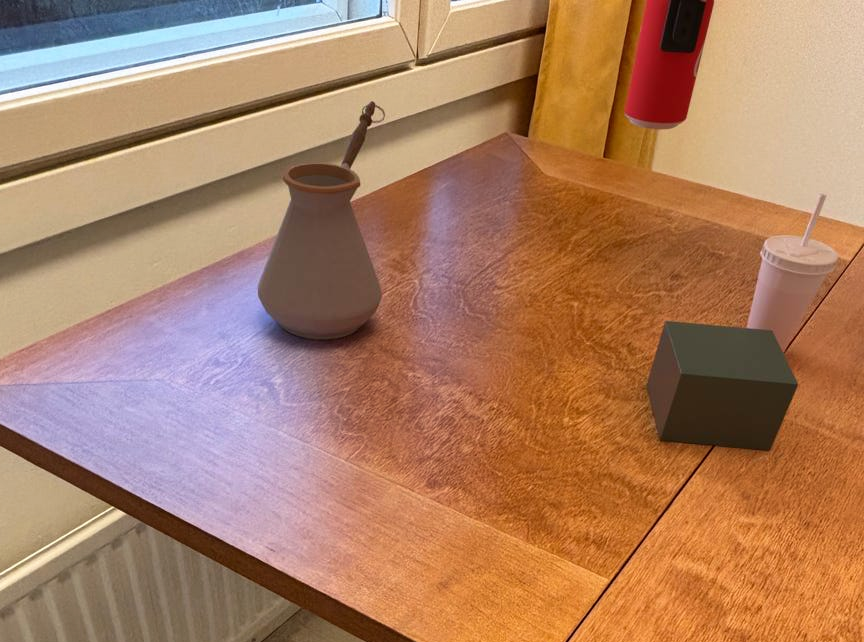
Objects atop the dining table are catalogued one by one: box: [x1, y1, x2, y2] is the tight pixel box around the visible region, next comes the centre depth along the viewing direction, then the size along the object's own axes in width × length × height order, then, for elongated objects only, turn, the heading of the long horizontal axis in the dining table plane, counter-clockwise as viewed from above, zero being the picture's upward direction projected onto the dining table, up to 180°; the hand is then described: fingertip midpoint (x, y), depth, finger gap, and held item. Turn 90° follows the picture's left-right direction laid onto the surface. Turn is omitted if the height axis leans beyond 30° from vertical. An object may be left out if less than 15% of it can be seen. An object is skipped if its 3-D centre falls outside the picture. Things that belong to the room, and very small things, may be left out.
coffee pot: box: [257, 100, 386, 340], centre depth 82 cm, size 21×12×15 cm, turn 164°
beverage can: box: [624, 0, 715, 131], centre depth 87 cm, size 6×6×12 cm
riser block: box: [645, 320, 799, 452], centre depth 74 cm, size 9×9×6 cm
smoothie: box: [746, 193, 839, 353], centre depth 80 cm, size 6×6×14 cm
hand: (671, 41), depth 86 cm, fingers closed on beverage can, 6 cm apart
